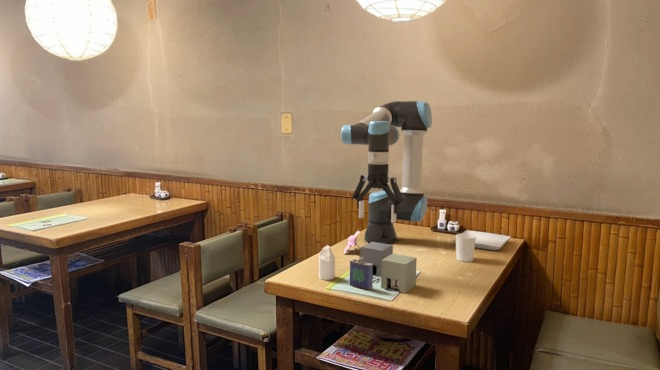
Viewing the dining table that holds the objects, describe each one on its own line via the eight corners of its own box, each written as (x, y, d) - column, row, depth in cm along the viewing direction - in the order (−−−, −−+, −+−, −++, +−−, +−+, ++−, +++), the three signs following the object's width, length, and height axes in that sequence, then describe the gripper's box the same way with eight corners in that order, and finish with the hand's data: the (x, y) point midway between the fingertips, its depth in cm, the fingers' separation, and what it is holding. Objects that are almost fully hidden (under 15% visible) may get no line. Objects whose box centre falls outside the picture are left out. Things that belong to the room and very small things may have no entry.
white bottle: (318, 247, 177) (318, 243, 183) (318, 280, 179) (318, 274, 185) (335, 247, 177) (334, 243, 183) (335, 280, 179) (334, 274, 185)
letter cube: (390, 287, 172) (390, 276, 171) (395, 284, 175) (396, 273, 175) (401, 289, 170) (401, 278, 169) (406, 286, 173) (406, 275, 173)
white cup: (475, 263, 200) (476, 238, 198) (455, 261, 201) (456, 237, 200) (473, 257, 207) (474, 234, 206) (454, 256, 209) (455, 233, 207)
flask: (373, 288, 170) (374, 258, 169) (369, 291, 168) (369, 260, 166) (352, 283, 176) (352, 253, 174) (347, 285, 174) (347, 255, 172)
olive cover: (380, 287, 171) (381, 259, 170) (392, 280, 179) (393, 253, 177) (404, 293, 167) (405, 264, 165) (415, 285, 174) (416, 257, 172)
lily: (351, 248, 223) (341, 231, 221) (374, 242, 217) (363, 224, 215) (343, 264, 213) (332, 246, 211) (366, 257, 207) (356, 238, 205)
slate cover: (360, 272, 187) (360, 246, 186) (371, 266, 195) (371, 241, 193) (381, 277, 182) (381, 250, 181) (392, 270, 190) (392, 245, 188)
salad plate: (500, 254, 214) (500, 246, 213) (452, 246, 225) (452, 239, 224) (511, 242, 231) (511, 235, 231) (465, 236, 242) (466, 229, 242)
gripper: (344, 161, 186) (343, 217, 189) (405, 166, 172) (403, 225, 175) (354, 160, 192) (353, 214, 195) (414, 164, 179) (412, 222, 182)
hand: (377, 219), depth 185 cm, fingers open, 13 cm apart
